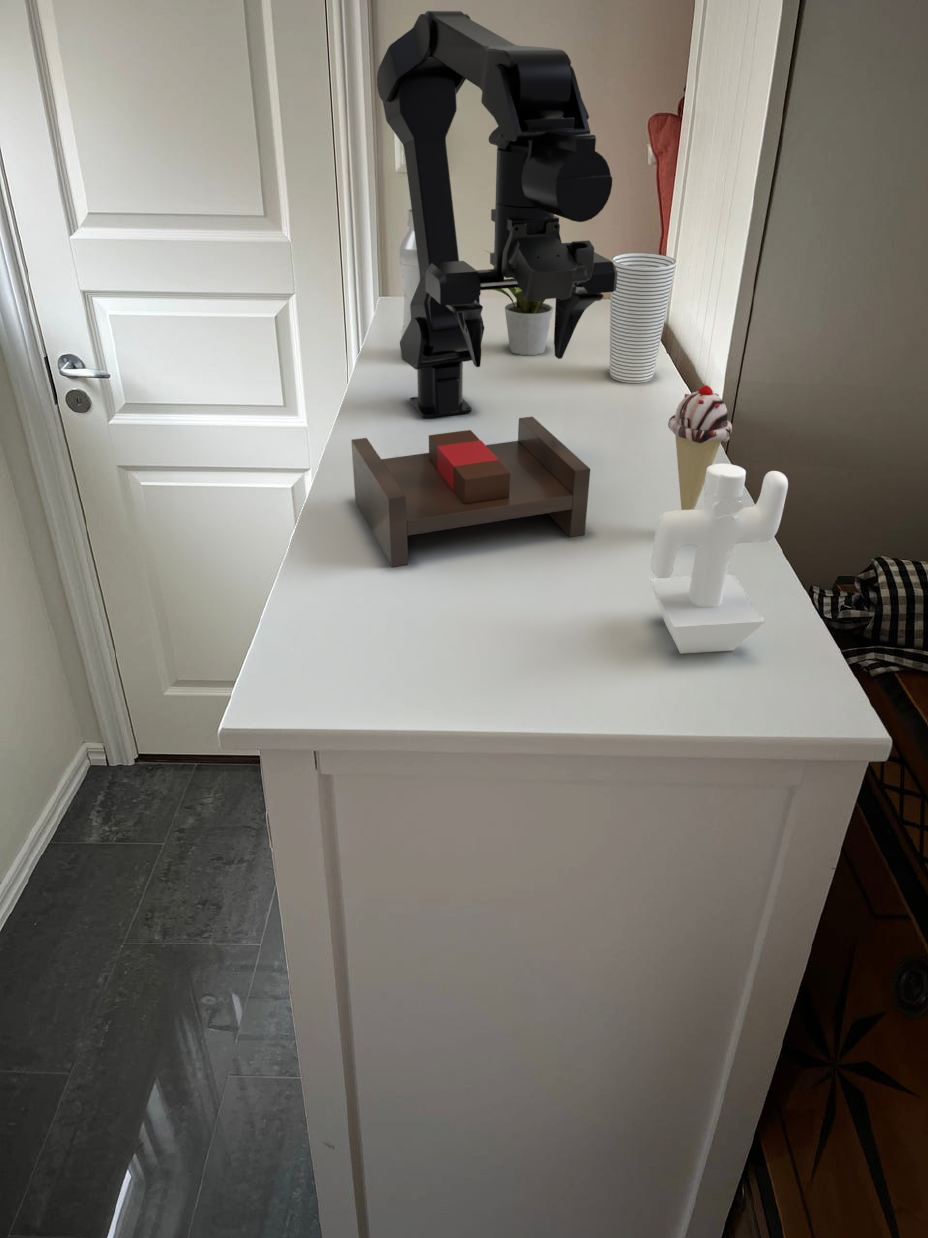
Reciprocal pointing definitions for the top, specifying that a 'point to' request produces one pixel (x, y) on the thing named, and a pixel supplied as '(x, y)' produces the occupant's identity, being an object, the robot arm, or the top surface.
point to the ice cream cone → (698, 440)
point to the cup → (638, 314)
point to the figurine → (713, 560)
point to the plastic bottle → (409, 269)
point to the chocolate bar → (469, 466)
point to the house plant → (526, 323)
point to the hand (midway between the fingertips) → (518, 361)
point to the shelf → (424, 501)
